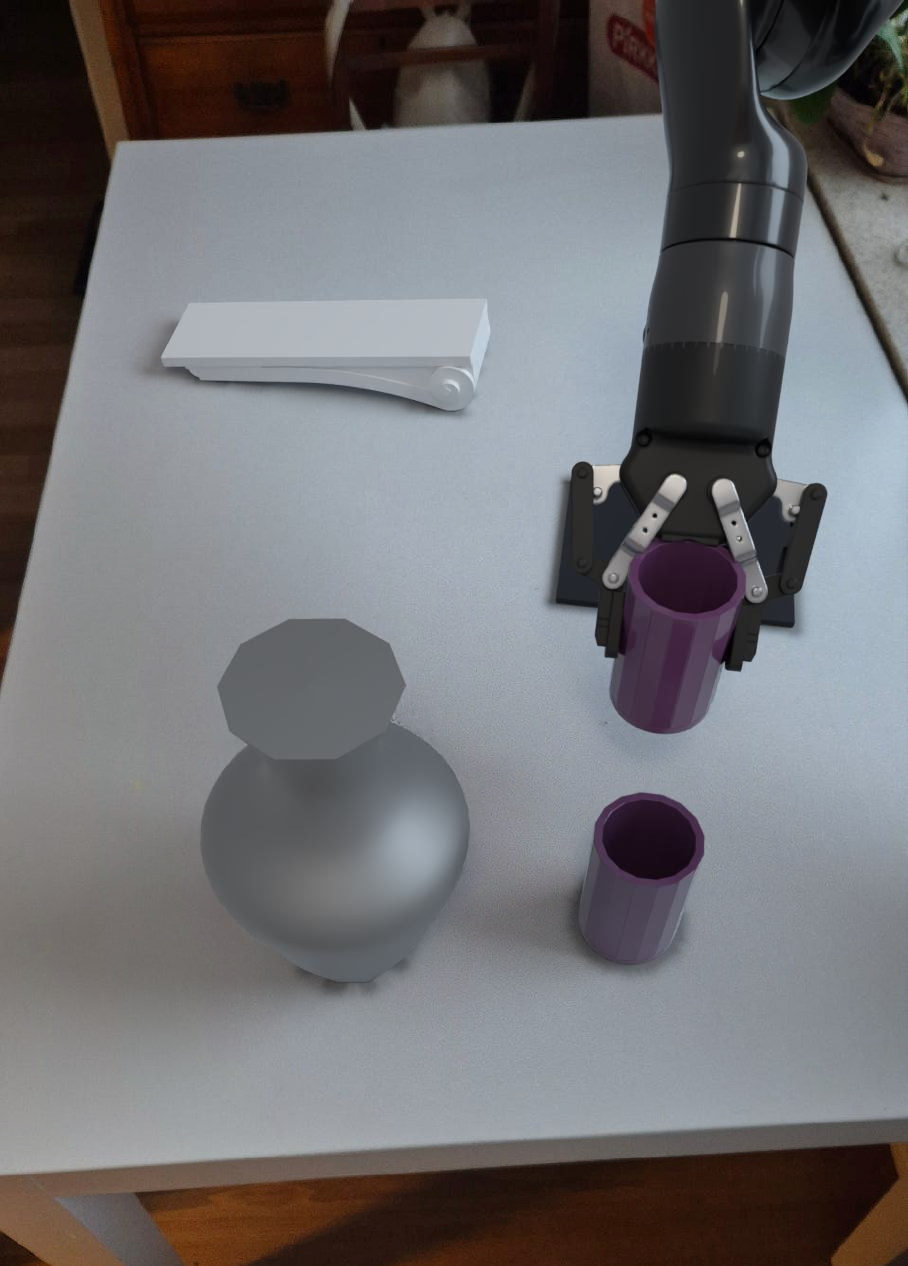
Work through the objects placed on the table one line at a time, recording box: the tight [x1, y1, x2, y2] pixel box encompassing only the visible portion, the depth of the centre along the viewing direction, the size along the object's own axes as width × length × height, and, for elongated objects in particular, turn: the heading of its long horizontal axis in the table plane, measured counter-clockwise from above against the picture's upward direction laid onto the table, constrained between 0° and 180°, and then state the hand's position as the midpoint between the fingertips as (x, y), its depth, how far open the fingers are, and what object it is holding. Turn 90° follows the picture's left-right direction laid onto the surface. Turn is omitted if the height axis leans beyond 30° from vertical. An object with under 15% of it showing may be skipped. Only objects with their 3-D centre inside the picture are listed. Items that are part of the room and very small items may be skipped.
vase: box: [199, 618, 471, 983], centre depth 61 cm, size 14×14×25 cm
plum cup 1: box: [608, 539, 746, 735], centre depth 65 cm, size 6×6×10 cm
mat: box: [555, 482, 796, 628], centre depth 90 cm, size 18×14×1 cm
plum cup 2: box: [577, 791, 706, 965], centre depth 68 cm, size 6×6×10 cm
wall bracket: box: [160, 297, 491, 412], centre depth 102 cm, size 10×7×28 cm
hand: (671, 662), depth 64 cm, fingers closed on plum cup 1, 6 cm apart
